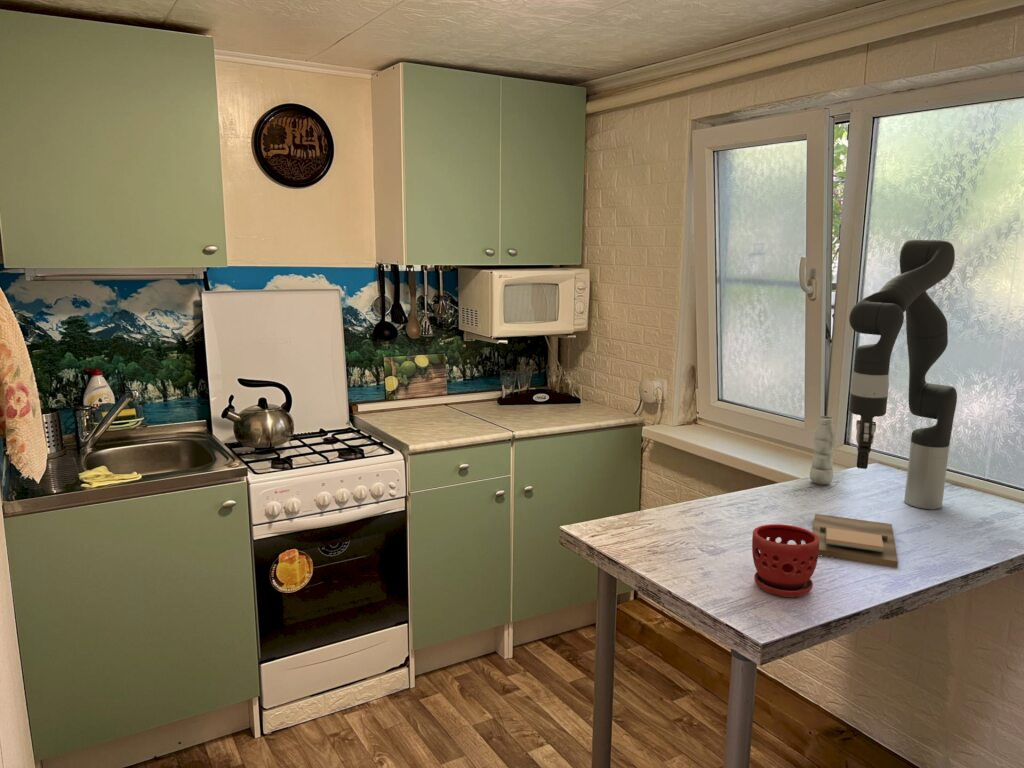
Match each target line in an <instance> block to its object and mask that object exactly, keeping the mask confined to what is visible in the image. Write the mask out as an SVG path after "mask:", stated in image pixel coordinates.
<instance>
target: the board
mask: <svg viewBox="0 0 1024 768" xmlns="http://www.w3.org/2000/svg"><path fill="white" fill-rule="evenodd" d="M812 528H813V529H812V532H813V533H814V534H816V535H817V536H818V538H819V554H818V555H822V556H821V557H824V556H827V557H826V558H830V557H833V559H837V558H839V559H838V560H843V559H845V560H844V561H849V562H850V561H851V562H857V563H863V564H870V565H875V566H876V565H878V566H884V567H889V568H890V567H891V568H896V569H898V565H899V560H898V554H897V547H896V539H895V536H894V535H895V534H894V529H893V524H892V523H889V522H888V523H887V522H880V521H879V522H878V521H871V520H863V519H858V518H849V517H842V516H835V515H826V514H819V513H814V519H813V527H812ZM827 528H833V529H840V530H847V531H854V532H861V533H869V534H876V535H881V536H882V541H883V546H884V549H883V552H879V551H872V550H865V549H858V548H852V547H845V546H838V545H831V544H826V530H827Z"/></svg>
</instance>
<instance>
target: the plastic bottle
mask: <svg viewBox="0 0 1024 768" xmlns="http://www.w3.org/2000/svg"><path fill="white" fill-rule="evenodd" d="M818 423H819V425H818V426H817V428H815V430H814V432H813V433H812V434H813V435H812V436H813V437H812V438H813V457H812V463H811V468H810V470H809V479H810V481H811V482H812V483H814V484H817V485H825V486H827V485H830V484H831V483H832V482H833V480H834V479H833V478H834V468H833V467H834V465H833V464H834V463H833V461H834V459H833V458H834V450H835V446H836V441H837V438H838V437H837V432H836V430H835V429H834V427H833V425H834V417H832V416H828V415H821V416H819V421H818Z"/></svg>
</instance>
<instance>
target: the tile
mask: <svg viewBox="0 0 1024 768" xmlns="http://www.w3.org/2000/svg"><path fill="white" fill-rule="evenodd" d="M826 544H831V545H838V546H845V547H852V548H858V549H865V550H872V551H879V552H883V549H884V546H883V541H882V536H881V535H876V534H869V533H861V532H854V531H847V530H840V529H833V528H827V530H826Z"/></svg>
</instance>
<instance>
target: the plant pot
mask: <svg viewBox="0 0 1024 768" xmlns="http://www.w3.org/2000/svg"><path fill="white" fill-rule="evenodd" d="M767 538H768V539H767ZM778 538H780V539H781V541H780V542H777V541H776V539H778ZM790 541H793V542H795V544H791V543H790V544H789V542H790ZM802 541H803V542H804V543H805V544H802ZM751 542H752V543H751V545H752V546H751V550H752V552H751V553H752V559H753V564H754V568H755V569H756V572H755V574H754V576H753V579H754V582H755V584H756V585H757V586H758V587H759V588H760V589H761V590H763V591H765V592H766V593H769V594H772V595H774V596H780V597H786V598H798V597H801V596H804V595H806V594H808V593H810V592H811V590H812V589H813V587H814V583H813V580H812V579H811V578H812V576H813V574H814V572H815V570H816V567H817V563H818V559H819V556H818V554H819V538H818V536H817V535H816V534H814V533H813V531H811V530H809V529H807V528H804V527H799V526H796V525H790V524H782V523H781V524H779V523H778V524H777V523H776V524H772V523H771V524H765V525H760V526H758V527H757V526H756V528H754V529H753V530H752V541H751Z"/></svg>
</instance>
